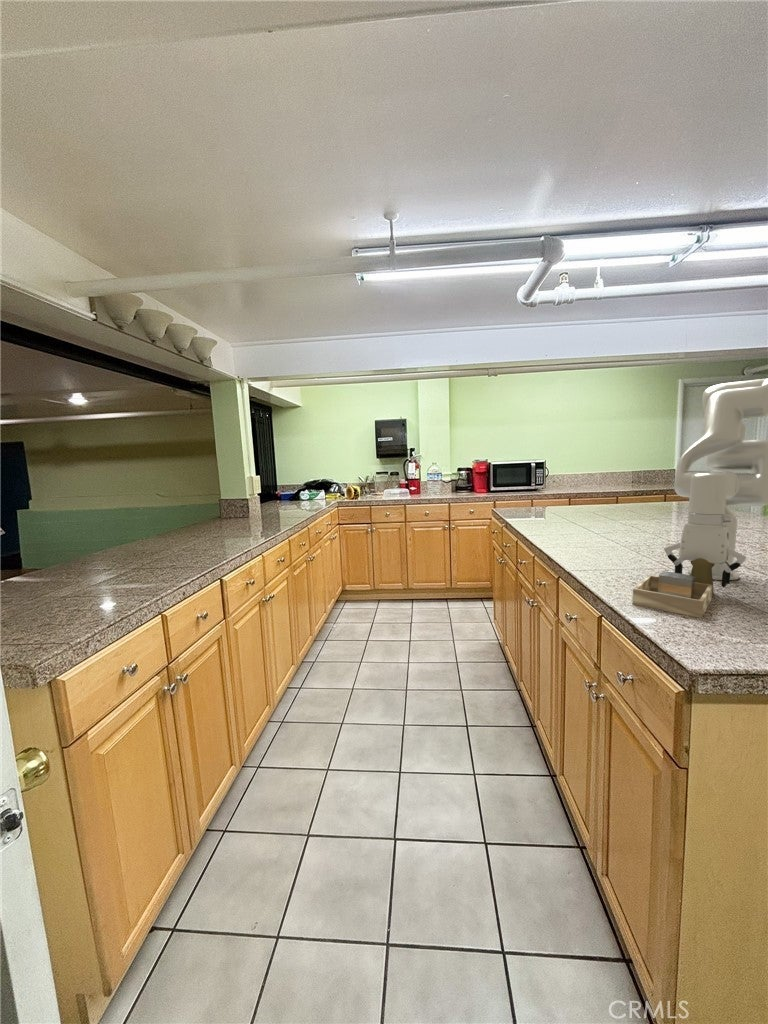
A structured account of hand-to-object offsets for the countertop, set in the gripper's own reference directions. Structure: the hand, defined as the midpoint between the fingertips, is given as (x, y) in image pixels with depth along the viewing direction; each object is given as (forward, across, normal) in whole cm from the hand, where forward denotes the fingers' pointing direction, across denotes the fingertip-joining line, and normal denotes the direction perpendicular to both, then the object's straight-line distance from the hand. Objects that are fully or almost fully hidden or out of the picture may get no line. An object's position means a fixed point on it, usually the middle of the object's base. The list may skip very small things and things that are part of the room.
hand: (700, 582), depth 110 cm
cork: (+4, 0, 0) cm, 4 cm away
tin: (+3, +4, +9) cm, 10 cm away
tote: (+3, +4, +13) cm, 14 cm away
